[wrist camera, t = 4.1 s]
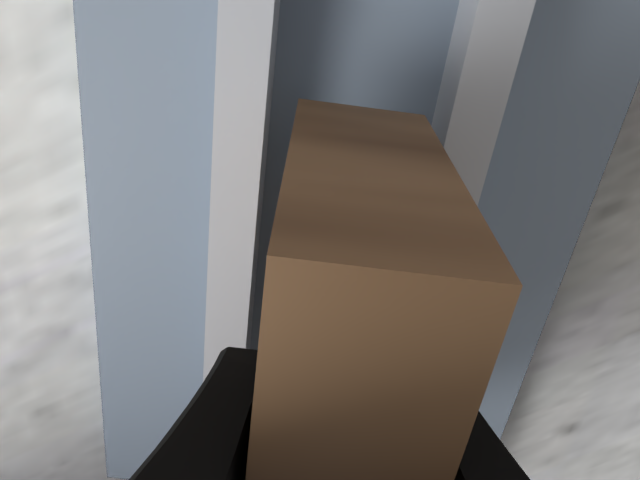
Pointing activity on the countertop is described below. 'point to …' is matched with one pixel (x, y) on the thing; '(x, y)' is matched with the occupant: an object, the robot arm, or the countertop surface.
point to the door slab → (374, 304)
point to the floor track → (272, 147)
